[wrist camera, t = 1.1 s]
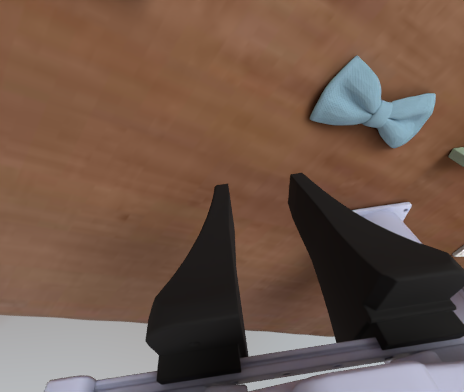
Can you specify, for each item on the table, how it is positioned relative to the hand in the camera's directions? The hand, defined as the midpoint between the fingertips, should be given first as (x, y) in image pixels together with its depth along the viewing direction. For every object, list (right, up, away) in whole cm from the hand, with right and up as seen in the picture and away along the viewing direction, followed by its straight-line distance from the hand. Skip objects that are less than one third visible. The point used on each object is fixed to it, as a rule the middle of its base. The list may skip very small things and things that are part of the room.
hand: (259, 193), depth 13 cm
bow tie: (+10, +7, +7) cm, 14 cm away
